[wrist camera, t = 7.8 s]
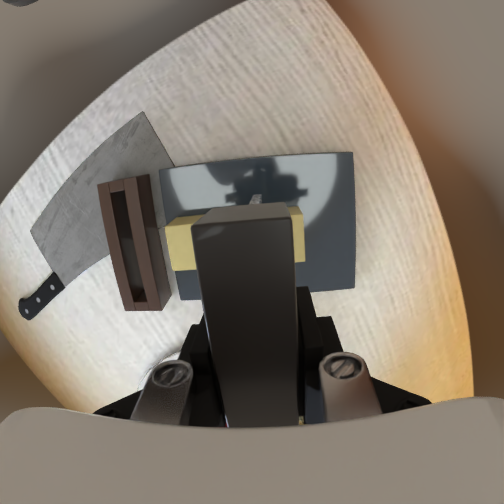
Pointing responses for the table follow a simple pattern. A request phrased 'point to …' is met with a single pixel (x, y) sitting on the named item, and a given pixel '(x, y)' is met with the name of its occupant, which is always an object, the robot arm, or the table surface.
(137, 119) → the cleaver
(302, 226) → the butter slice
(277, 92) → the table surface
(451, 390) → the table surface
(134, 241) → the block
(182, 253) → the butter stick
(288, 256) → the bench scraper
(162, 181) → the butter dish
